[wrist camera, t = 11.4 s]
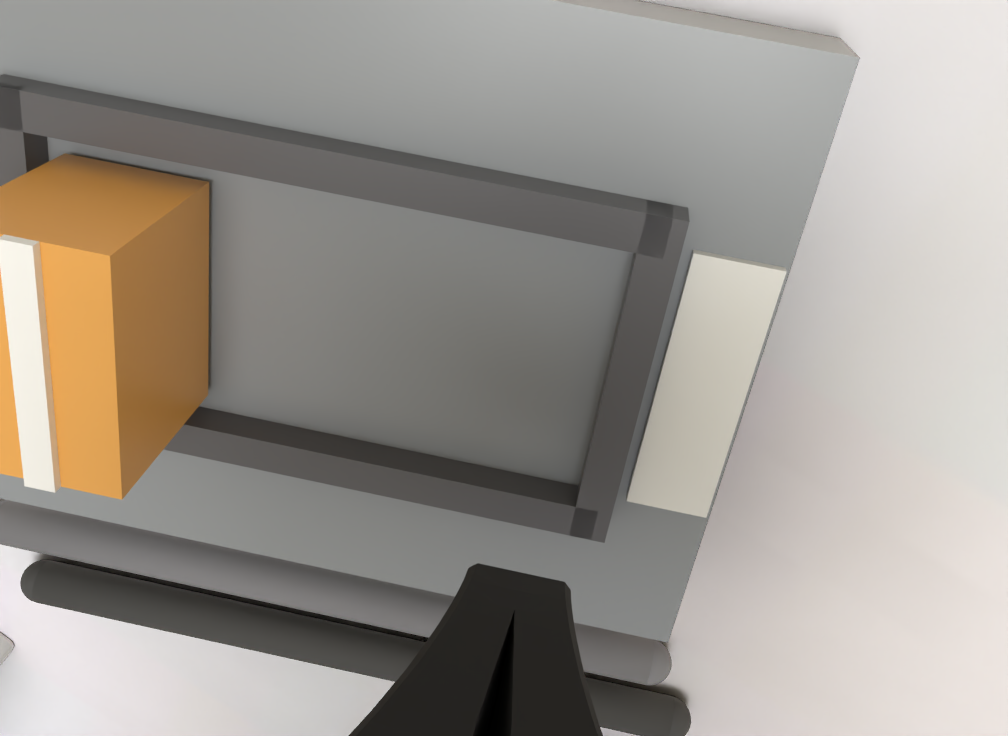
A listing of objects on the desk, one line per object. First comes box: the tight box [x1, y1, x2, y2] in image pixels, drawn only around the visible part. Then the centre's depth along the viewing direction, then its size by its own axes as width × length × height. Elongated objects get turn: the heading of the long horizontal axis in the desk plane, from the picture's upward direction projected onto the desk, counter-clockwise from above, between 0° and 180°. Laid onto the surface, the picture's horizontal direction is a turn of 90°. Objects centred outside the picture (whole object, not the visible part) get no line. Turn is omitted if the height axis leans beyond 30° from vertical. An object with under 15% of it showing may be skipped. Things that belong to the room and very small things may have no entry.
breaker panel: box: [0, 0, 860, 643], centre depth 21 cm, size 18×14×3 cm
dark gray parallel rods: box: [0, 500, 691, 736], centre depth 27 cm, size 3×20×1 cm, turn 81°
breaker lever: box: [0, 153, 209, 500], centre depth 19 cm, size 3×5×4 cm, turn 171°
